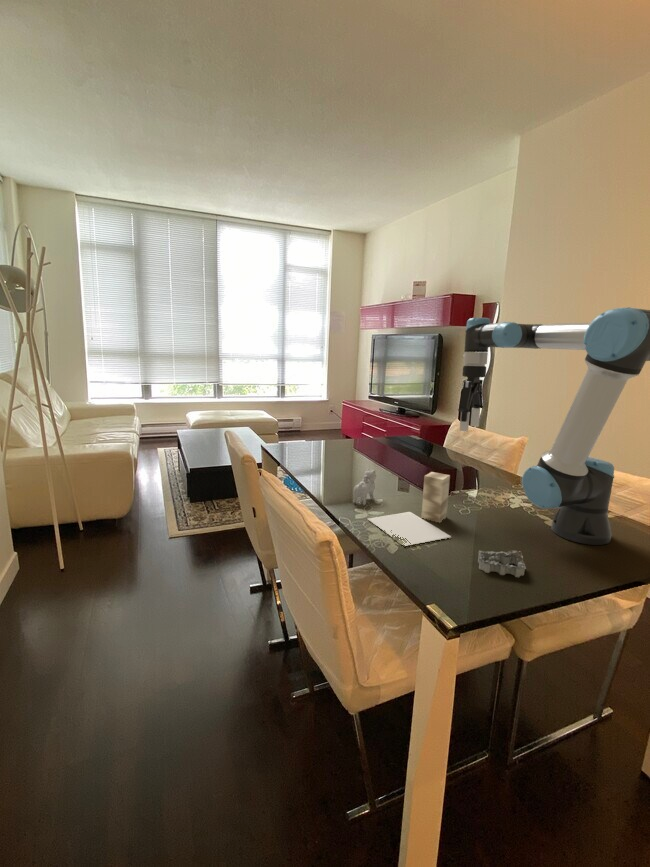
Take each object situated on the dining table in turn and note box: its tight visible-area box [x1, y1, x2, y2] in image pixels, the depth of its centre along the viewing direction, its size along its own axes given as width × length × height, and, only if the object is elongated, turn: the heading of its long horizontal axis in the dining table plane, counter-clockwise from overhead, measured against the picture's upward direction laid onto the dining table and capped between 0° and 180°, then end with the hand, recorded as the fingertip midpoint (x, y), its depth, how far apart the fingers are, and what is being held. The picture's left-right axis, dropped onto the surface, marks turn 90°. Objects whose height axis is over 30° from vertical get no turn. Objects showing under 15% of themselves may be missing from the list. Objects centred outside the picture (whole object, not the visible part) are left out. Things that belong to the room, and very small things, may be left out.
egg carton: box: [477, 549, 527, 578], centre depth 104 cm, size 11×8×4 cm
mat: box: [367, 511, 452, 546], centre depth 126 cm, size 20×16×1 cm
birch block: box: [420, 471, 451, 524], centre depth 134 cm, size 6×6×14 cm
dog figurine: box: [352, 468, 377, 506], centre depth 148 cm, size 5×13×11 cm, turn 151°
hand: (469, 428), depth 147 cm, fingers open, 11 cm apart
